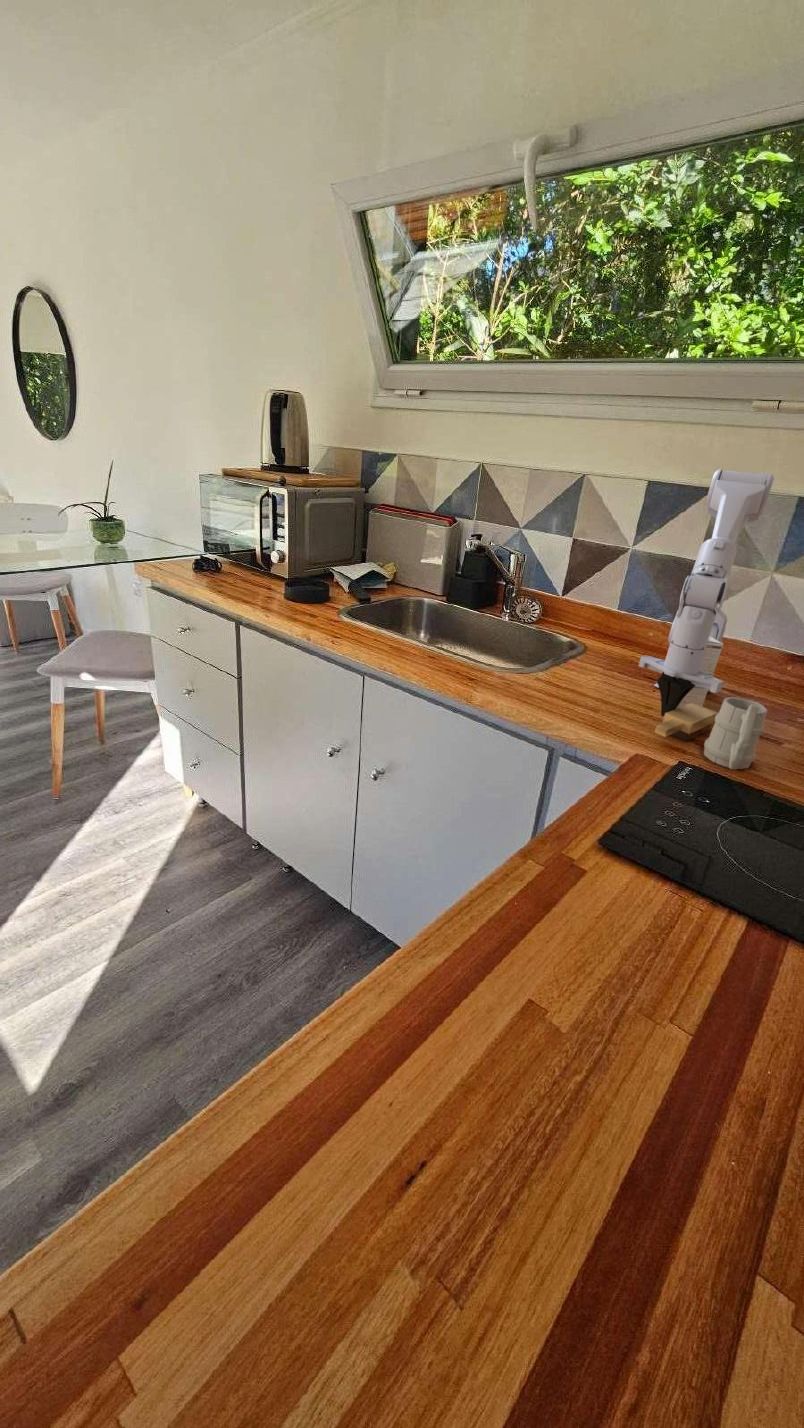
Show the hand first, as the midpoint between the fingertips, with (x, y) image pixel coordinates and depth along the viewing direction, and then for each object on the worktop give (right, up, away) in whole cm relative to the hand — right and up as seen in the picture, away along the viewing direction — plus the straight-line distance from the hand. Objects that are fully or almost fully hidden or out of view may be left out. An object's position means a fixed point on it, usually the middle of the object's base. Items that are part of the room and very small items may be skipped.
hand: (666, 715), depth 109 cm
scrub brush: (+1, -3, -2) cm, 4 cm away
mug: (+5, -8, -12) cm, 15 cm away
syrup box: (+8, +2, +10) cm, 13 cm away
